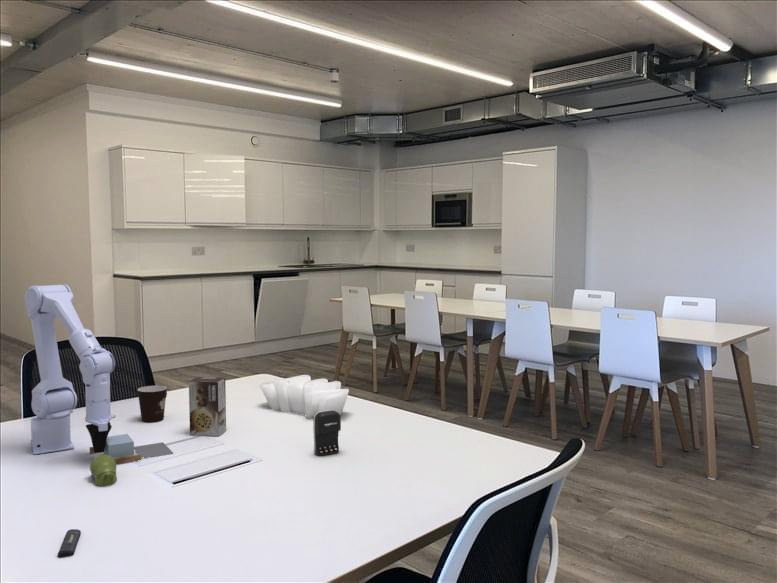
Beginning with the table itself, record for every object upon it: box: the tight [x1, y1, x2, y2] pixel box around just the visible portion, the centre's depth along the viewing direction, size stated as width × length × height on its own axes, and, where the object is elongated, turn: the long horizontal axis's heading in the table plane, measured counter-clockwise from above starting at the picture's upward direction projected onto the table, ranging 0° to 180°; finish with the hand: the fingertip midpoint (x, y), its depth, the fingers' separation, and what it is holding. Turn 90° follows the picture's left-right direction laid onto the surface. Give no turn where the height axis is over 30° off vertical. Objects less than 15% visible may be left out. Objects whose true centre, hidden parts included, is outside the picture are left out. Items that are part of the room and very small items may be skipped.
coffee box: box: [188, 376, 227, 437], centre depth 184 cm, size 9×6×16 cm
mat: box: [134, 442, 174, 459], centre depth 168 cm, size 8×11×1 cm
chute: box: [89, 446, 142, 466], centre depth 163 cm, size 10×13×2 cm
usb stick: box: [57, 528, 82, 558], centre depth 115 cm, size 10×3×2 cm, turn 18°
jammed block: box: [103, 433, 135, 458], centre depth 163 cm, size 6×8×4 cm
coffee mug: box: [137, 385, 168, 424], centre depth 198 cm, size 12×9×10 cm
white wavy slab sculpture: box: [259, 374, 350, 420], centre depth 209 cm, size 35×16×10 cm, turn 48°
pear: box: [89, 454, 118, 487], centre depth 147 cm, size 6×5×10 cm
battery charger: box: [312, 410, 342, 456], centre depth 167 cm, size 7×4×11 cm, turn 121°
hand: (99, 451), depth 161 cm, fingers closed, pressing on jammed block
